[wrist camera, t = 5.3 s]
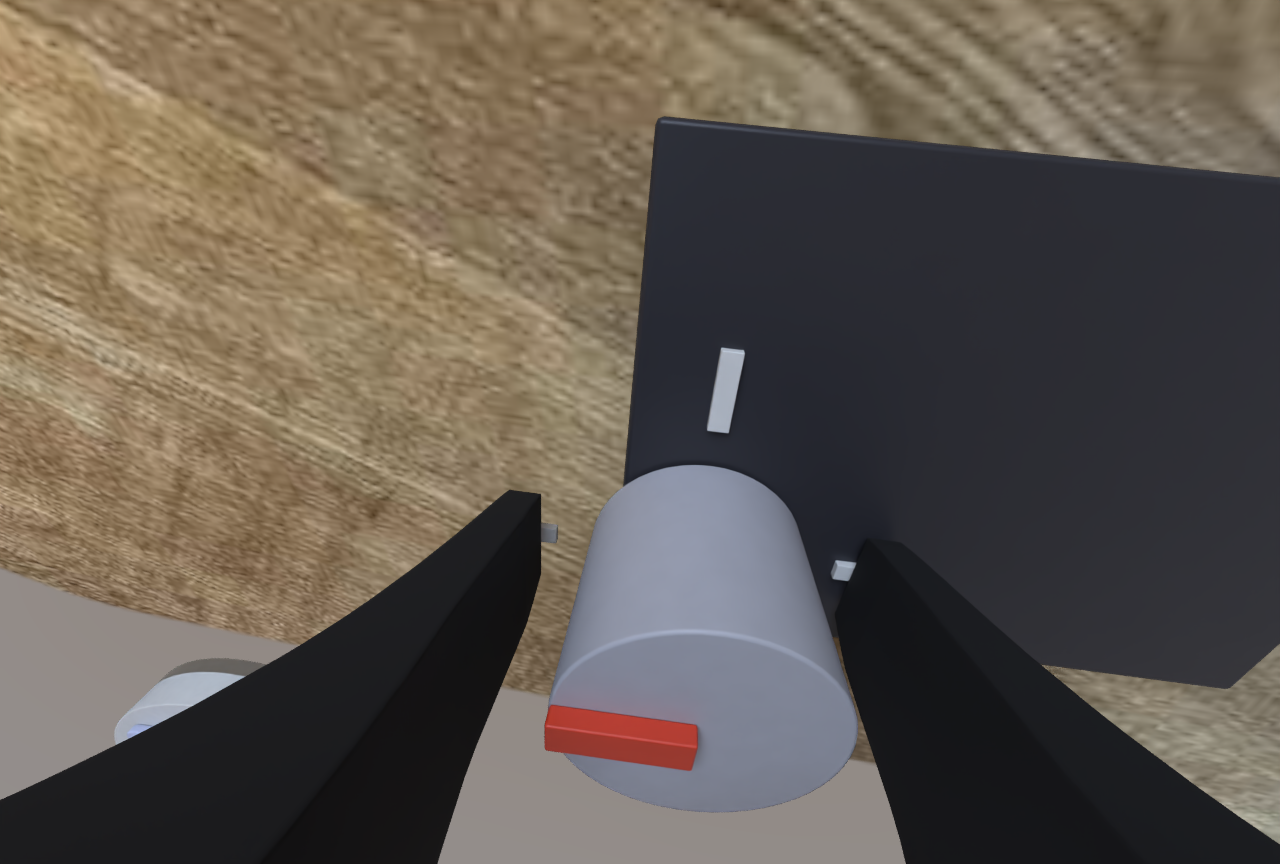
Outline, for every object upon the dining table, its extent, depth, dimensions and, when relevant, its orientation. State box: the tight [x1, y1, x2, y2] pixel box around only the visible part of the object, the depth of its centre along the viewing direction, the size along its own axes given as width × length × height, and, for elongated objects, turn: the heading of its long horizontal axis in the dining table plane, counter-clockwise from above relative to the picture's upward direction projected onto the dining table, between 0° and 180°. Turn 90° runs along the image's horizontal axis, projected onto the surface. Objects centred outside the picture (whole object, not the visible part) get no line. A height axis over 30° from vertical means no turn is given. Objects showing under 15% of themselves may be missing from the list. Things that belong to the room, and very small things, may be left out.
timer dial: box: [545, 465, 858, 812], centre depth 8 cm, size 4×4×4 cm
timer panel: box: [541, 116, 1280, 689], centre depth 10 cm, size 11×16×3 cm
